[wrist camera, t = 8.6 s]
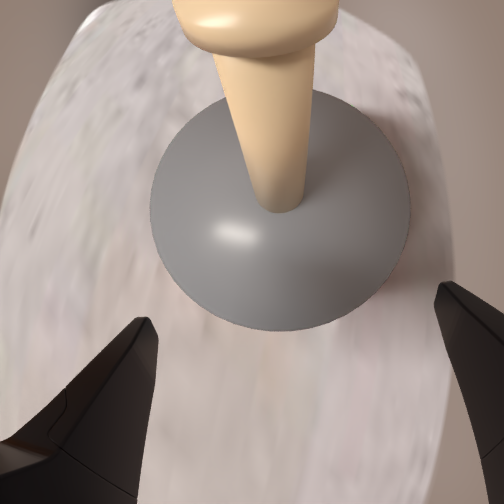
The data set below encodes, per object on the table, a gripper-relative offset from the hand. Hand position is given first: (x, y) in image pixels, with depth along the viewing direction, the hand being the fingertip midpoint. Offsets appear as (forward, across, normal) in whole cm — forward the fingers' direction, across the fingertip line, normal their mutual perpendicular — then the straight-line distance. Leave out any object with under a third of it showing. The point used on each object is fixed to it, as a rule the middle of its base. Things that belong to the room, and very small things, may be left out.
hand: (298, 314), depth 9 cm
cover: (+10, 0, 0) cm, 10 cm away
